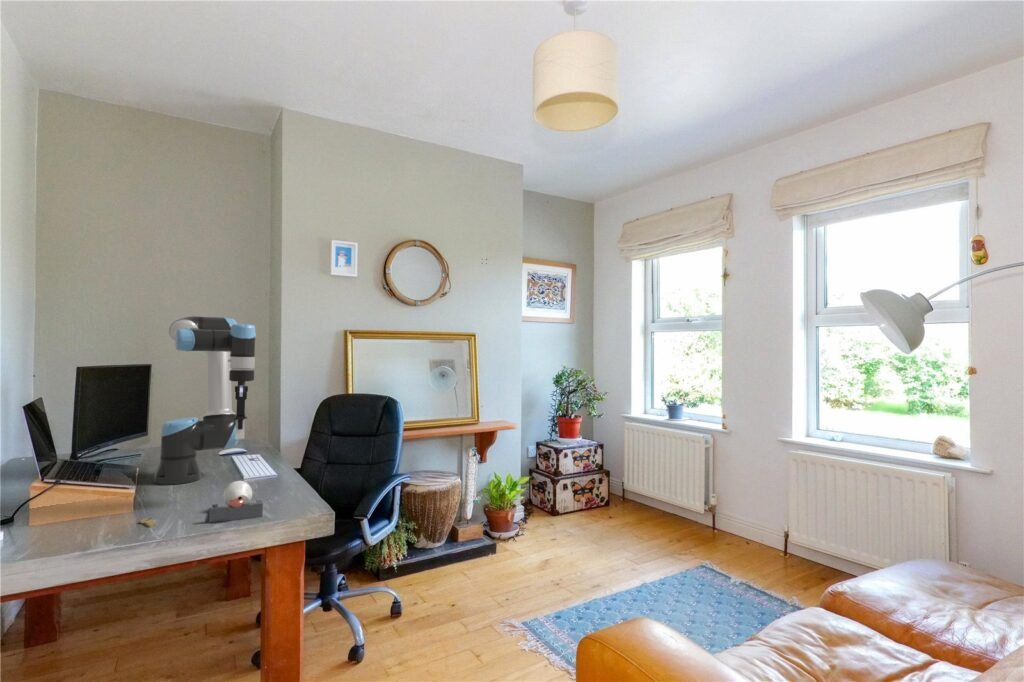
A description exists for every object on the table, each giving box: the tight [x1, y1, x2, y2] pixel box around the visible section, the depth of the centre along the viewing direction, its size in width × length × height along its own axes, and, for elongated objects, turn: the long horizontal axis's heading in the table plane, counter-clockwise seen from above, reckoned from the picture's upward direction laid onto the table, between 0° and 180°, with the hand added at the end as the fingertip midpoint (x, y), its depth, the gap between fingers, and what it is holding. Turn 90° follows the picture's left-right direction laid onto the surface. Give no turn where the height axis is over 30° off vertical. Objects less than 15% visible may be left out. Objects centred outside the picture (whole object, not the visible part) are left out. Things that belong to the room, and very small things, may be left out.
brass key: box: [140, 517, 158, 528], centre depth 149 cm, size 7×3×1 cm, turn 52°
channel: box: [208, 498, 264, 524], centre depth 160 cm, size 16×14×6 cm
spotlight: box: [223, 480, 253, 506], centre depth 162 cm, size 8×11×8 cm
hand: (239, 438), depth 176 cm, fingers closed
